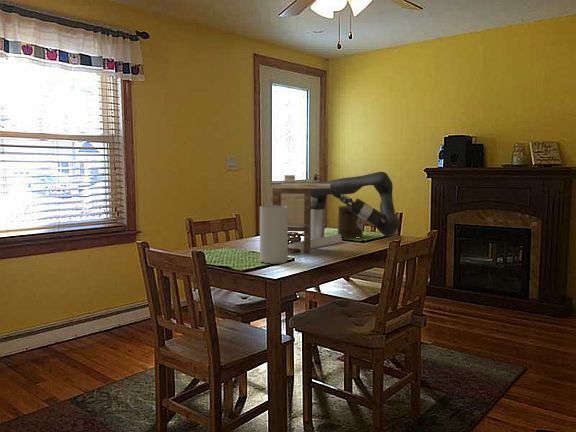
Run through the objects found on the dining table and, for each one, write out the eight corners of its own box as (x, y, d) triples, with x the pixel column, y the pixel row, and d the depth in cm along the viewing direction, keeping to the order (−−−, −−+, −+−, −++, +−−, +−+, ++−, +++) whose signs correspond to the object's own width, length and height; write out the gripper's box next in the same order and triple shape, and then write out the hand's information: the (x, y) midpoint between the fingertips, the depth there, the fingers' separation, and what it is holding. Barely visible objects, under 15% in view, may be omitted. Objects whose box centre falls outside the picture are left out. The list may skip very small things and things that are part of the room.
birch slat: (282, 187, 258) (282, 183, 257) (330, 188, 256) (330, 183, 255) (281, 188, 253) (281, 184, 253) (330, 188, 251) (330, 184, 251)
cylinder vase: (269, 257, 242) (269, 204, 239) (292, 260, 235) (292, 206, 233) (254, 262, 231) (254, 207, 228) (278, 265, 225) (278, 208, 222)
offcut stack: (283, 186, 265) (283, 175, 264) (295, 186, 264) (295, 175, 264) (282, 187, 260) (282, 175, 260) (294, 187, 260) (294, 175, 259)
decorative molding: (289, 253, 270) (303, 250, 263) (287, 244, 270) (301, 241, 264) (328, 245, 295) (342, 242, 289) (326, 237, 296) (340, 234, 289)
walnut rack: (276, 247, 270) (276, 186, 267) (310, 248, 269) (310, 186, 265) (272, 253, 254) (272, 188, 251) (309, 253, 253) (309, 188, 249)
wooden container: (364, 238, 301) (365, 201, 298) (338, 238, 301) (339, 201, 299) (361, 235, 316) (361, 199, 313) (336, 235, 316) (337, 199, 313)
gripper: (364, 201, 260) (337, 185, 260) (366, 204, 246) (337, 186, 246) (356, 214, 261) (329, 197, 261) (358, 217, 247) (329, 200, 247)
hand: (333, 192), depth 253 cm, fingers open, 8 cm apart
